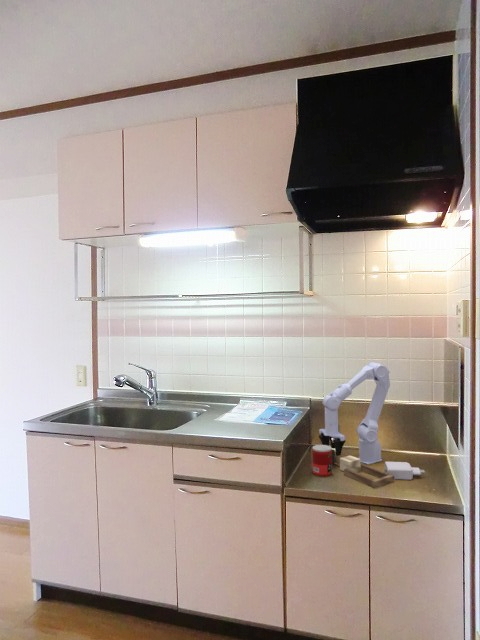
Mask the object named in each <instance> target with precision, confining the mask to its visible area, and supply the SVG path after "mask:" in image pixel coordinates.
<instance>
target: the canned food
mask: <svg viewBox="0 0 480 640" xmlns="http://www.w3.org/2000/svg"><path fill="white" fill-rule="evenodd" d="M332 450H333V449H332V446H330V445H329V446H327V445H322V444H316V445H313V446H312V450H311V451H312V473H313V474H314V475H315V476H318V477H323V478H326V477H330V476H331V475H332V474H333V464H332Z"/></svg>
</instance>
